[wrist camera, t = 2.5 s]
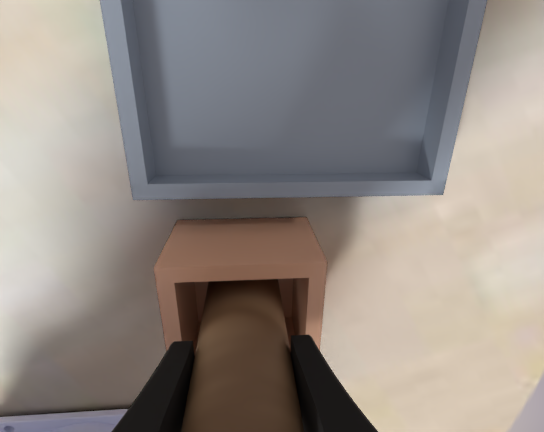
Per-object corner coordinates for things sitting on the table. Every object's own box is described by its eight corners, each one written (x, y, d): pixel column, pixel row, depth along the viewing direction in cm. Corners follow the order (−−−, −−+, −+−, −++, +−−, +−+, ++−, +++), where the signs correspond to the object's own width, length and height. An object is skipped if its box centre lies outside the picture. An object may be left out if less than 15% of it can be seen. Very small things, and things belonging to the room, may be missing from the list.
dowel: (210, 315, 15) (177, 536, 8) (205, 256, 14) (161, 450, 6) (277, 312, 15) (308, 523, 8) (278, 254, 14) (316, 438, 7)
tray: (147, 185, 13) (133, 199, 12) (100, -133, 10) (70, -178, 8) (420, 182, 14) (442, 194, 13) (476, -110, 11) (520, -146, 9)
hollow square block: (189, 323, 16) (172, 393, 13) (177, 220, 14) (153, 267, 10) (301, 318, 17) (316, 384, 13) (306, 217, 15) (327, 262, 11)
